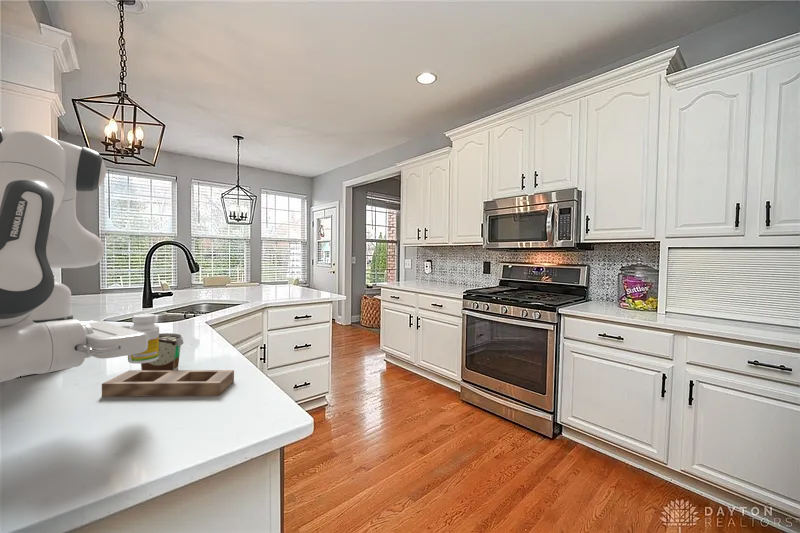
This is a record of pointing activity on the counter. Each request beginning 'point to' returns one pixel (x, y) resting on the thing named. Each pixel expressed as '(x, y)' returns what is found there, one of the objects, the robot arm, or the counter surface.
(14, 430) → the counter surface
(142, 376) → the socket rail
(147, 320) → the supplement bottle
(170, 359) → the food container
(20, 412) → the counter surface
